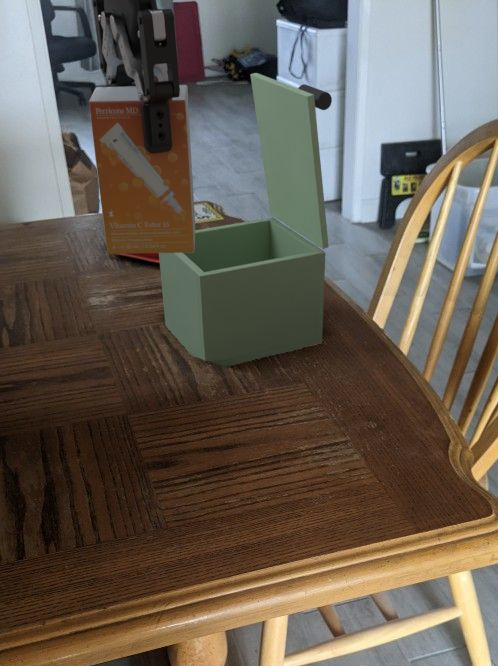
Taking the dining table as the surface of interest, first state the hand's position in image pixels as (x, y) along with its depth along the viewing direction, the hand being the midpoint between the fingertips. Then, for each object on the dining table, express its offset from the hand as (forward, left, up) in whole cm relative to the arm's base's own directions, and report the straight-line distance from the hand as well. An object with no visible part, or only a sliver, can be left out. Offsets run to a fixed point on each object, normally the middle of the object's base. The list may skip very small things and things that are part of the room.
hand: (143, 140), depth 68 cm
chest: (-4, +20, -28) cm, 35 cm away
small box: (0, 0, -9) cm, 9 cm away
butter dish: (-33, +36, -28) cm, 56 cm away
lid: (-1, +25, -8) cm, 26 cm away
